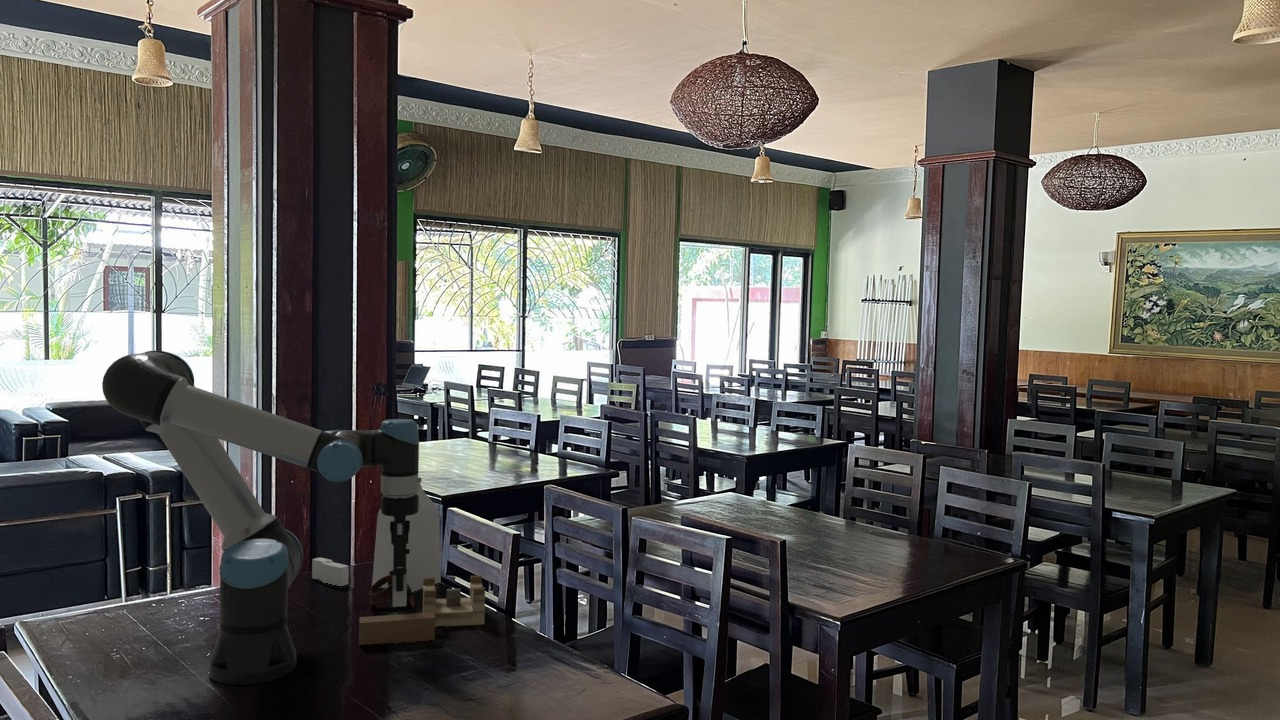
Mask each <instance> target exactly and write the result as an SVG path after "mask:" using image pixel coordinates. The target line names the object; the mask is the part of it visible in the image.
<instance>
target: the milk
mask: <svg viewBox="0 0 1280 720" xmlns="http://www.w3.org/2000/svg"><path fill="white" fill-rule="evenodd" d="M416 494H417V495H418V496H419V510H418V512H417V513H416V514H413V515H407V516H406V521H408V520H410V532H409V533H408V544H406V545H407V548H406V549H409V554H406V555H407V584H408V585H409V586H410V588H411V591H412V592H413V593H415V592H414V591H416V592H418V591H417V590H419V589H422V588H423V578H430V577H435V584H436V583H440V584H441V583H442V582H441V581H442V578H441V577H442V575H441V542H440V541H441V539H440V536H441V535H440V513H439V509H438V507H437V506H436V504H435V503H434V502H433V501H432V499H431V498H430V497H429V495H427V493H426V492H425V491H424V489H423V487H422V483H421V482H418V492H417V493H416ZM376 517H377V518H376V532H375V543H374V545H375V546H374V556H373V557H374V559H373V568H372V581H371V586H372V585H373V584H374V583H376V582H377V581H378V580H379V579H381V578H383V577H385V576H387V575H389V571H393V549H394V545H392V544H391V533H390V521H394V517H393V516H386V515H383V514H382V513H381V508H380V509H379V510H378V513H377V516H376ZM387 587H388V582H386V584H384V585H382V586H381V588H385V589H386V588H387ZM381 588H380V589H381ZM422 590H423V589H422ZM419 591H420V590H419Z"/></svg>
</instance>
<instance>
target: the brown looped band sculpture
mask: <svg viewBox="0 0 1280 720" xmlns="http://www.w3.org/2000/svg"><path fill="white" fill-rule="evenodd" d="M386 582H388V587H387V588H386V589H381V588H380V587H381V586H382V585H384V584H386ZM379 589H381V591H378V592H377V590H379ZM391 594H392V595H393V575H392V576H389V575H387V576H385V577H383V578H381V579H379V580H378V581H377V582H376V583H374V584H373V585H372V584H371V586H370V590H369V591H368V595H369V596H370V597H369V604H370V605H371V607H372V606H373V607H375V606H376V605H378V604H382V603H386V602H387V603H391ZM407 601H409V602H408V603H409V604H410V608H411V607H413V608H414V607H415V605H416V602H415V597H414V593H412V591H411V588H410V586H409V585H408V584H407Z"/></svg>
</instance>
